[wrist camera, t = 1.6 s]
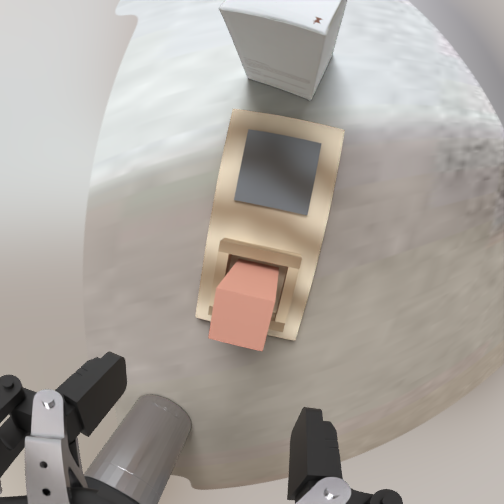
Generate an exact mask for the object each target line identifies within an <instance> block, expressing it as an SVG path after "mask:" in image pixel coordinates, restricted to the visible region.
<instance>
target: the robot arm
mask: <svg viewBox="0 0 504 504" xmlns="http://www.w3.org/2000/svg"><path fill="white" fill-rule="evenodd" d="M126 386H127V376H126V364H125V359H124V357H121V356H119V355H117V354H114V353H112V352H107V353H106V354H105V355H104V356H103V357H102V358H101V359H100V358H98V357H96V358H94V359H91V360H89V361H87V362H86V363H85V364H84V365H83V366H81V368H80V369H78V370H77V371H76V373H74V374H73V375H72V376H70V377H69V378H68V379H67V380H66V381H65V382H64V383H63V384H61V385H60V386H59V387H58V388H57V389H56V390H55V391H54V390H51V389H45V390H41V391H39V392H34V391H31V390H28V389H26V388H23V387H22V384H21V382H20V380H19V379H18V378H17V377H16V376H13V375H4V376H2V377H0V423H1V422H2V421H3V419H4V418H5V417H6V416H7V415H8V414H9V415H10V417H9V418H8V419H7V420H6V421H5V422H4V424H3V425H2V426H1V427H0V478H1V476H2V475H3V473H4V472H5V471H6V470H7V469H8V467H9V466H10V464H11V463H12V462H13V461H14V460H15V458H16V457H17V456H18V455H19V453H20V452H21V451H22V450H23V448H24V447H25V476H26V489H27V495H26V496H14V497H0V504H158V502H159V499H160V497H161V495H162V492H163V490H164V488H165V486H166V484H167V481H168V479H169V477H170V475H171V473H172V470H173V468H174V466H175V464H176V461H177V459H178V457H179V455H180V452H181V450H182V448H183V446H184V443H185V441H186V439H187V437H188V434H189V432H190V430H191V426H192V425H191V420H190V418H189V416H188V415H187V413H186V412H185V411H184V410H183V409H182V408H181V407H179V406H178V405H177V404H175V403H174V402H172V401H170V400H168V399H166V398H164V397H161V396H157V395H144V396H141V397H140V398H139V399H138V400H137V401H136V403H135V404H134V406H133V407H132V408H131V410H130V411H129V412H128V414H127V415H126V416H125V418H124V419H123V420H122V422H121V423H120V425H119V426H118V427H117V429H116V430H115V432H114V433H113V434H112V436H111V437H110V439H109V440H108V441H107V443H106V444H105V445H104V447H103V448H102V450H101V451H100V452H99V454H98V455H97V457H96V458H95V459H94V461H93V462H92V464H91V465H90V467H89V468H88V469H87V471H86V472H85V474H83V471H82V465H81V459H80V453H79V446H78V438H77V436H78V435H79V434H80V432H81V433H83V434H84V435H86V436H88V437H89V436H90V435H91V433H92V432H93V431H94V429H95V428H96V427H97V426H98V424H99V423H100V422H101V421H102V419H103V418H104V417H105V416H106V414H107V413H108V412H109V411H110V409H111V408H112V407H113V406H114V404H115V403H116V402H117V401H118V399H119V398H120V397H121V396H122V394H123V393H124V391H125V389H126ZM337 440H338V439H337V432H336V429H335V428H334V426H333V425H332V423H331V422H329V421H323V417H322V410H321V409H315V408H307V407H304V408H303V409H302V411H301V413H300V415H299V417H298V420H297V422H296V424H295V426H294V428H293V430H292V434H291V439H290V460H289V480H288V496H287V499H288V500H295V504H403V502H402V498H401V496H400V495H399V494H398V493H397V492H395V491H393V490H389V489H383V490H380V491H377V492H376V493H375V494H374V495H373V494H368V493H363V492H359V491H356V490H353V489H351V488H350V486H349V485H348V484H347V482H346V481H344V480H343V478H342V471H341V462H340V454H339V449H338V448H339V447H338V442H337ZM1 493H2V488H1V481H0V494H1Z"/></svg>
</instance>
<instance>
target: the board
mask: <svg viewBox="0 0 504 504" xmlns="http://www.w3.org/2000/svg"><path fill="white" fill-rule="evenodd" d="M344 131H345V130H342V129H338V128H335V127H331V126H327V125H322V124H318V123H314V122H309V121H305V120H300V119H295V118H290V117H285V116H279V115H274V114H268V113H261V112H255V111H247V110H240V109H233V110H232V115H231V119H230V123H229V128H228V132H227V137H226V142H225V146H224V151H223V156H222V161H221V166H220V171H219V176H218V181H217V186H216V191H215V197H214V202H213V207H212V213H211V219H210V224H209V230H208V236H207V242H206V248H205V254H204V261H203V267H202V274H201V281H200V288H199V295H198V302H197V310H196V318H200V319H204V320H208V321H211V317H212V311H213V305H214V298H215V292H216V287H217V286H218V285H219V284H220V282H221V281H222V280H223V278H224V277H225V276H226V275H227V273H228V272H229V271H230V269H231V268H232V267H233V266H234V264H235V263H236V262H237V260H238V259H243V260H248V261H252V262H257V263H261V264H266V265H270V266H275V267H279V273H278V282H277V291H276V299H275V305H274V309H273V313H272V317H271V321H270V324H269V328H268V332H267V335H270V336H274V337H279V338H284V339H289V340H294V341H295V339H296V336H297V333H298V330H299V326H300V323H301V320H302V316H303V313H304V309H305V306H306V302H307V299H308V295H309V292H310V288H311V284H312V281H313V277H314V273H315V269H316V265H317V261H318V257H319V253H320V249H321V245H322V241H323V237H324V233H325V228H326V224H327V220H328V215H329V211H330V206H331V201H332V196H333V192H334V187H335V182H336V176H337V171H338V166H339V160H340V155H341V149H342V143H343V137H344Z"/></svg>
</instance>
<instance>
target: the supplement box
mask: <svg viewBox="0 0 504 504" xmlns="http://www.w3.org/2000/svg"><path fill="white" fill-rule="evenodd" d="M346 3H347V0H224V2H223V3H222V4H221V6H220V7H219V10H220V12H221V14H222V16H223V19H224V21H225V23H226V25H227V28H228V30H229V33H230V35H231V37H232V40H233V42H234V45H235V47H236V50H237V52H238V55H239V57H240V60H241V62H242V65H243V67H244V70H245V73H246V75H247V78H248V79H252V80H255V81H258V82H261V83H264V84H267V85H270V86H273V87H276V88H279V89H282V90H284V91H287V92H290V93H292V94H295V95H298V96H300V97H303V98H305V99H308V100H312V98H313V95H314V93H315V91H316V89H317V87H318V85H319V83H320V81H321V78H322V76H323V74H324V72H325V70H326V68H327V65H328V63H329V61H330V59H331V56H332V54H333V51H334V47H335V43H336V40H337V36H338V32H339V29H340V25H341V22H342V18H343V15H344V11H345V7H346Z"/></svg>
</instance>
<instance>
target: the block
mask: <svg viewBox="0 0 504 504" xmlns="http://www.w3.org/2000/svg"><path fill="white" fill-rule="evenodd" d="M278 273H279V267H275V266H270V265H266V264H261V263H257V262H252V261H248V260H243V259H238V260H237V262H236V263H235V264H234V266H233V267H232V268H231V269H230V271H229V272H228V273H227V275H226V276H225V277H224V278H223V280H222V281H221V282H220V284H219V285H218V286H217V287H216V292H215V298H214V305H213V311H212V317H211V324H210V330H209V337H208V338H210V339H213V340H217V341H221V342H225V343H229V344H233V345H237V346H241V347H245V348H249V349H254V350H258V351H263V348H264V344H265V340H266V336H267V332H268V328H269V324H270V321H271V317H272V313H273V309H274V305H275V299H276V291H277V282H278Z"/></svg>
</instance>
